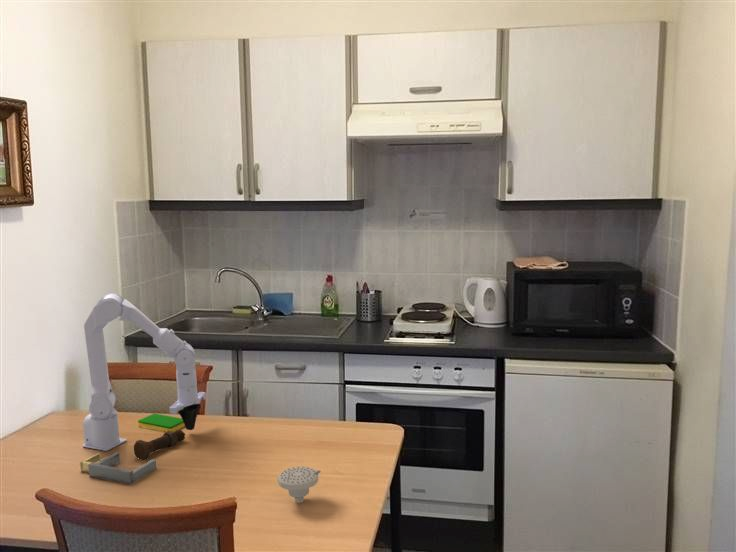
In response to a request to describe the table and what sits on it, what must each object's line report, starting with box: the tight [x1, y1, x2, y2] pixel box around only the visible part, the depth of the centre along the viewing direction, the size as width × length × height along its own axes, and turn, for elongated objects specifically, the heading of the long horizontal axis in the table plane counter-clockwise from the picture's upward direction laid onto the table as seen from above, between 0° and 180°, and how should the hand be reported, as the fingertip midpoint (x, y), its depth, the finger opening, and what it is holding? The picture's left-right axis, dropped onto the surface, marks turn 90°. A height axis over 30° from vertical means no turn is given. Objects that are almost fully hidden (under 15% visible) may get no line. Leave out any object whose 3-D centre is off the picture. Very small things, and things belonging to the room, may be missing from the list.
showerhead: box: [277, 466, 322, 504], centre depth 153 cm, size 9×7×10 cm
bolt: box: [133, 429, 186, 461], centre depth 185 cm, size 6×5×15 cm
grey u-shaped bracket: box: [88, 452, 157, 486], centre depth 171 cm, size 14×10×3 cm
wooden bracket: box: [79, 452, 111, 473], centre depth 175 cm, size 5×6×2 cm
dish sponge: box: [137, 413, 185, 433], centre depth 204 cm, size 7×14×2 cm, turn 63°
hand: (190, 429), depth 196 cm, fingers closed
